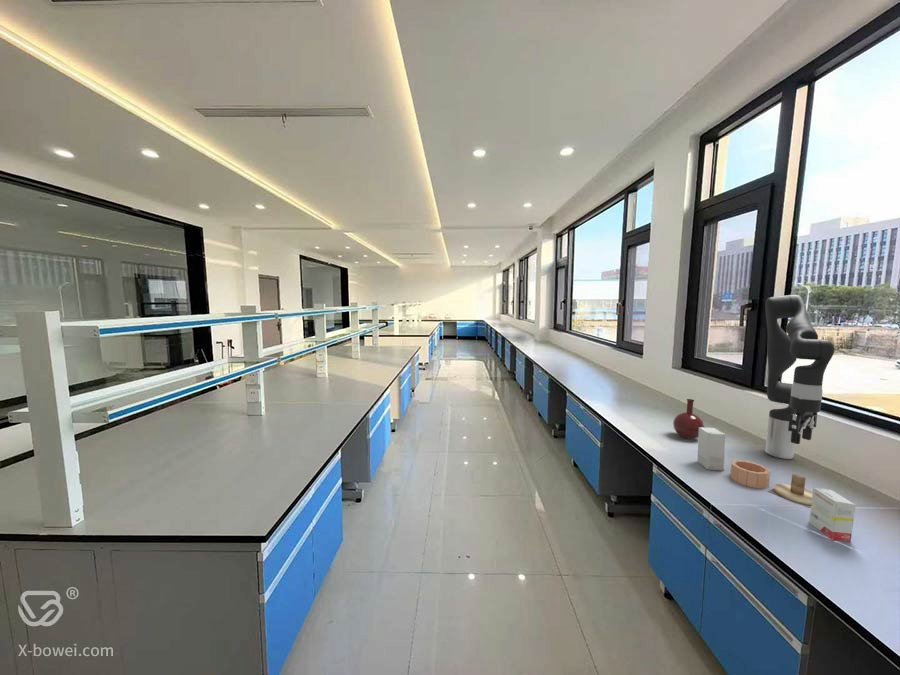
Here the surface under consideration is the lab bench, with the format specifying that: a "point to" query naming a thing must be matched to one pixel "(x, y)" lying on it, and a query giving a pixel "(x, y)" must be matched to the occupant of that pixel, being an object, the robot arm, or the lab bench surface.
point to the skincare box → (711, 448)
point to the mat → (785, 498)
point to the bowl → (750, 474)
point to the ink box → (832, 514)
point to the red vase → (688, 422)
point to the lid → (795, 490)
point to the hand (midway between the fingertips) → (800, 441)
